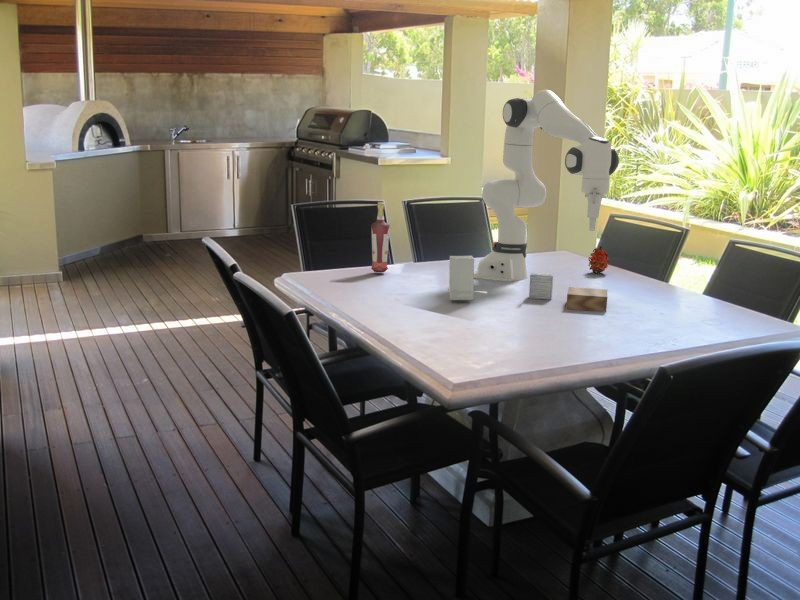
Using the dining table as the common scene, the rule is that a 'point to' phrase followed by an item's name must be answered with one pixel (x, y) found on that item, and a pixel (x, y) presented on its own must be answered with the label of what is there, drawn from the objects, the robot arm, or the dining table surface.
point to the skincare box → (461, 278)
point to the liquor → (380, 241)
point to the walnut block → (587, 299)
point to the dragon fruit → (598, 260)
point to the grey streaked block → (541, 286)
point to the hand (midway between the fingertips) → (592, 228)
